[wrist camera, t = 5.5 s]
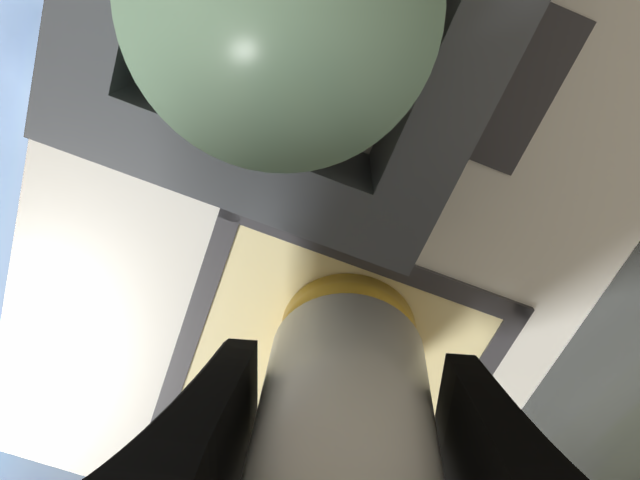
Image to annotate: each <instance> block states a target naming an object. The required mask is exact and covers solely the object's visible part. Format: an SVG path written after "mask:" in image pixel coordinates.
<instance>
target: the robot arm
mask: <svg viewBox="0 0 640 480" xmlns="http://www.w3.org/2000/svg"><path fill="white" fill-rule="evenodd" d="M257 408H258V340H246V339H231V338H228V339H227V340H226V341H225V342H223V344H222V345H221V346H220V347H219V349H218V350H217V351H216V352H215V354H214V355H213V356H212V357H211V359H210V360H209V361H208V362H207V363H206V365H205V366H204V367H203V368H202V369H201V371H200V372H199V373H198V374H197V375H196V376H195V377H194V379H193V380H192V381H191V382H190V383H189V384H188V385H187V386H186V387H185V388H184V389H183V391H182V392H181V393H180V394H179V395H178V396H177V397H176V398H175V399H174V400H173V401H172V402H171V403H170V404H169V405H168V406H167V407H166V408H165V409H164V410H163V411H162V412H161V413H160V414H159V415H158V416H157V417H156V418H155V419H154V420H153V421H152V422H151V423H150V424H149V425H148V426H147V427H146V428H145V429H144V430H142V431H141V432H140V433H139V434H138V435H137V436H136V437H135V438H133V439H132V440H131V441H130V442H129V443H128V444H127V445H125V446H124V447H123V448H122V449H121V450H120V451H118V452H117V453H116V454H115V455H113V456H112V457H111V458H110V459H108V460H107V461H106V462H105V463H104V464H102V465H101V466H100V467H98V468H97V469H96V470H94V471H93V472H92V473H90V474H89V475H88V476H86V477H85V478H83V479H82V480H241V478H242V474H243V469H244V465H245V461H246V456H247V452H248V448H249V443H250V439H251V435H252V430H253V426H254V422H255V417H256V413H257ZM435 422H436V428H437V434H438V441H439V447H440V453H441V459H442V466H443V472H444V478H445V480H589V479H588V478H587V477H586V476H585V475H584V474H583V473H582V472H581V471H580V470H579V469H578V468H577V467H575V466H574V465H573V464H572V463H571V462H570V461H569V460H568V459H567V458H566V457H565V456H564V455H563V454H562V453H561V452H560V451H559V450H558V449H557V448H556V447H555V446H554V445H553V444H552V443H551V442H550V441H549V440H548V439H547V437H546V436H545V435H544V434H543V433H542V432H541V431H540V430H539V429H538V428H537V427H536V426H535V424H534V423H533V422H532V421H531V420H530V419H529V418H528V417H527V416H526V414H525V413H524V412H523V411H522V410H521V409H520V408H519V406H518V405H517V404H516V403H515V402H514V401H513V399H512V398H511V397H510V396H509V395H508V394H507V392H506V391H505V390H504V389H503V388H502V386H501V385H500V384H499V383H498V381H497V380H496V379H495V378H494V377H493V375H492V374H491V373H490V372H489V371H488V369H487V368H486V367H485V366H484V364H483V363H482V362H481V361H480V360H479V359H478V357H477V356H476V355H466V354H452V353H446V355H445V361H444V367H443V372H442V378H441V384H440V389H439V395H438V401H437V406H436V412H435Z"/></svg>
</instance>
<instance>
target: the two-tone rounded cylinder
mask: <svg viewBox="0 0 640 480" xmlns="http://www.w3.org/2000/svg"><path fill="white" fill-rule="evenodd" d="M241 480H445V478H444V472H443V466H442V459H441V453H440V447H439V441H438V434H437V428H436V422H435V415H434V409H433V403H432V397H431V390H430V384H429V378H428V372H427V365H426V359H425V353H424V347H423V343H422V339H421V337H420V335H419V332H418V331H417V329H416V324H415V319H414V315H413V313H412V310H411V308H410V306H409V305H408V303H407V302H406V300H405V299H404V298H403V297H402V296H401V294H399V293H398V292H397V291H396V290H395V289H394V288H392V287H391V286H389V285H388V284H386V283H384V282H382V281H380V280H378V279H375V278H373V277H369V276H365V275H360V274H351V273H343V274H334V275H329V276H325V277H322V278H319V279H317V280H315V281H312V282H310V283H309V284H307V285H306V286H304V287H303V288H301V289H300V290H299V291H298V292H297V293H296V294H295V295H294V296H293V297H292V299H291V300H290V302H289V303H288V305H287V307H286V309H285V311H284V315H283V318H282V323H281V324H280V326H279V327H278V329H277V331H276V334H275V336H274V339H273V343H272V348H271V352H270V356H269V361H268V365H267V369H266V374H265V378H264V382H263V387H262V391H261V395H260V400H259V404H258V408H257V413H256V417H255V422H254V426H253V430H252V435H251V439H250V443H249V448H248V452H247V456H246V461H245V465H244V469H243V474H242V478H241Z"/></svg>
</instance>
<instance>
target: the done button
mask: <svg viewBox="0 0 640 480" xmlns="http://www.w3.org/2000/svg"><path fill="white" fill-rule="evenodd" d="M110 3H111V11H112V19H113V23H114V28H115V32H116V36H117V40H118V43H119V46H120V49H121V52H122V54H123V57H124V60H125V63H126V65H127V67H128V69H129V71H130V73H131V75H132V77H133V79H134V81H135V83H136V84H137V86H138V88H139V89H140V91H141V92H142V94H143V95H144V97H145V98H146V100H147V101H148V103H149V104H150V105H151V106H152V107H153V109H154V110H155V111H156V112H157V114H158V115H159V116H160V117H161V118H162V119H163V120H164V121H165V122H166V123H167V124H168V125H169V126H170V127H171V128H172V129H173V130H174V131H175V132H176V133H177V134H179V135H180V136H181V137H183V138H184V139H185V140H187V141H188V142H189V143H191V144H192V145H193V146H195V147H197V148H198V149H200V150H202V151H203V152H205V153H207V154H208V155H210V156H212V157H215V158H217V159H219V160H221V161H224V162H226V163H228V164H232V165H235V166H238V167H241V168H245V169H248V170H254V171H260V172H266V173H284V174H287V173H300V172H308V171H313V170H318V169H323V168H326V167H329V166H332V165H335V164H338V163H341V162H344V161H346V160H348V159H350V158H352V157H354V156H356V155H358V154H360V153H362V152H363V151H365V150H366V149H368V148H369V147H371V146H372V145H374V144H375V143H377V142H378V141H379V140H380V139H381V138H383V137H384V136H385V135H386V134H387V133H388V132H390V131H391V130H392V129H393V128H394V127H395V126H396V125H397V124H398V122H399V121H400V120H401V119H402V118H403V117H404V116H405V115H406V114H407V112H408V111H409V110H410V108H411V107H412V105H413V104H414V102H415V101H416V100H417V98H418V97H419V95H420V93H421V91H422V90H423V88H424V86H425V84H426V82H427V80H428V78H429V76H430V74H431V71H432V69H433V66H434V63H435V61H436V58H437V56H438V52H439V48H440V44H441V40H442V36H443V32H444V24H445V15H446V0H110Z"/></svg>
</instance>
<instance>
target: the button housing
mask: <svg viewBox="0 0 640 480" xmlns="http://www.w3.org/2000/svg"><path fill="white" fill-rule="evenodd" d="M550 1H551V0H446V15H445V24H444V32H443V36H442V40H441V44H440V48H439V52H438V56H437V58H436V61H435V63H434V66H433V69H432V71H431V74H430V76H429V78H428V80H427V82H426V84H425V86H424V88H423V90H422V91H421V93H420V95H419V97H418V98H417V100H416V101H415V102H414V104H413V105H412V107H411V108H410V110H409V111H408V112H407V114H406V115H405V116H404V117H403V118H402V119H401V120H400V121H399V122H398V124H397V125H396V126H395V127H394V128H393V129H392V130H391V131H390V132H388V133H387V134H386V135H385V136H384V137H383V138H381V139H380V140H379V141H378V142H377V143H375V144H374V145H373V146H372V149H371V151H370V153H369V154H366V153H364V152H362V153H360V154H358V155H356V156H354V157H352V158H350V159H348V160H346V161H344V162H341V163H338V164H335V165H332V166H329V167H326V168H323V169H318V170H313V171H308V172H300V173H287V174H284V173H266V172H260V171H254V170H248V169H245V168H241V167H238V166H235V165H232V164H228V163H226V162H224V161H221V160H219V159H217V158H215V157H212V156H210V155H208V154H207V153H205V152H203V151H202V150H200V149H198V148H197V147H195V146H193V145H192V144H191V143H189V142H188V141H187V140H185V139H184V138H183V137H181V136H180V135H179V134H177V133H176V132H175V131H174V130H173V129H172V128H171V127H170V126H169V125H168V124H167V123H166V122H165V121H164V120H163V119H162V118H161V117H160V116H159V115H158V114H157V112H156V111H155V110H154V109H153V107H152V106H151V105H150V104H149V103H148V101H147V100H146V98H145V97H144V95H143V94H142V92H141V91H140V89H139V88H138V86H137V84H136V83H135V81H134V79H133V77H132V75H131V73H130V71H129V69H128V67H127V65H126V63H125V60H124V57H123V54H122V52H121V49H120V46H119V43H118V40H117V36H116V32H115V28H114V23H113V19H112V11H111V3H110V0H44V4H43V10H42V17H41V24H40V30H39V37H38V44H37V51H36V57H35V64H34V71H33V77H32V84H31V91H30V97H29V104H28V111H27V117H26V124H25V131H24V137H25V138H28V139H31V140H33V141H36V142H39V143H42V144H45V145H47V146H50V147H53V148H56V149H58V150H61V151H64V152H67V153H69V154H72V155H75V156H78V157H80V158H83V159H86V160H89V161H91V162H94V163H97V164H100V165H102V166H105V167H108V168H111V169H113V170H116V171H119V172H122V173H124V174H127V175H130V176H133V177H136V178H138V179H141V180H144V181H147V182H149V183H152V184H155V185H158V186H160V187H163V188H166V189H169V190H171V191H174V192H177V193H180V194H182V195H185V196H188V197H191V198H193V199H196V200H199V201H202V202H204V203H207V204H210V205H213V206H215V207H218V208H221V209H224V210H227V211H229V212H232V213H235V214H238V215H240V216H243V217H246V218H249V219H251V220H254V221H257V222H260V223H262V224H265V225H268V226H271V227H273V228H276V229H279V230H282V231H284V232H287V233H290V234H293V235H295V236H298V237H301V238H304V239H307V240H309V241H312V242H315V243H318V244H320V245H323V246H326V247H329V248H331V249H334V250H337V251H340V252H342V253H345V254H348V255H351V256H353V257H356V258H359V259H362V260H364V261H367V262H370V263H373V264H375V265H378V266H381V267H384V268H386V269H389V270H392V271H395V272H398V273H400V274H403V275H406V276H409V275H410V273H411V271H412V269H413V267H414V265H415V263H416V261H417V259H418V257H419V255H420V254H421V252H422V250H423V248H424V246H425V244H426V242H427V240H428V238H429V236H430V234H431V232H432V230H433V228H434V226H435V224H436V223H437V221H438V219H439V217H440V215H441V213H442V211H443V209H444V207H445V205H446V203H447V201H448V199H449V197H450V195H451V193H452V191H453V190H454V188H455V186H456V184H457V182H458V180H459V178H460V176H461V174H462V172H463V170H464V168H465V166H466V164H467V162H468V160H469V159H470V157H471V155H472V153H473V151H474V149H475V147H476V145H477V143H478V141H479V139H480V137H481V135H482V133H483V131H484V129H485V128H486V126H487V124H488V122H489V120H490V118H491V116H492V114H493V112H494V110H495V108H496V106H497V104H498V102H499V100H500V98H501V96H502V95H503V93H504V91H505V89H506V87H507V85H508V83H509V81H510V79H511V77H512V75H513V73H514V71H515V69H516V67H517V65H518V64H519V62H520V60H521V58H522V56H523V54H524V52H525V50H526V48H527V46H528V44H529V42H530V40H531V38H532V36H533V34H534V32H535V31H536V29H537V27H538V25H539V23H540V21H541V19H542V17H543V15H544V13H545V11H546V9H547V7H548V5H549V3H550Z"/></svg>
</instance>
